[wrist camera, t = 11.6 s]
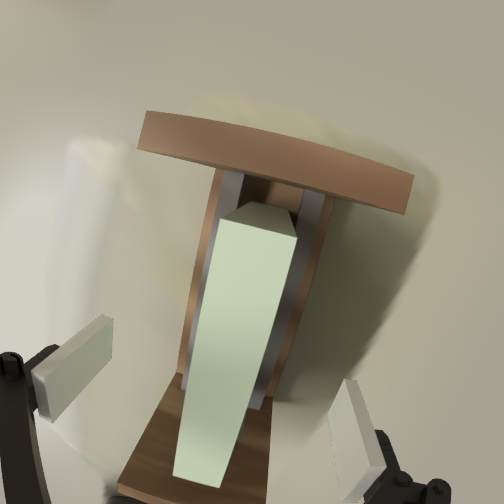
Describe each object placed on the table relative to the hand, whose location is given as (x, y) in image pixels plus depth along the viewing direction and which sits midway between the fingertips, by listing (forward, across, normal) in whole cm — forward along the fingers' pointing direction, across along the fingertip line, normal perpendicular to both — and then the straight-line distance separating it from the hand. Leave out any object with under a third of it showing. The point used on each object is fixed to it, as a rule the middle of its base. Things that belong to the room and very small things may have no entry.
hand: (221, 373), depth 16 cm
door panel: (+12, 0, 0) cm, 12 cm away
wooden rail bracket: (+13, 0, 0) cm, 13 cm away
